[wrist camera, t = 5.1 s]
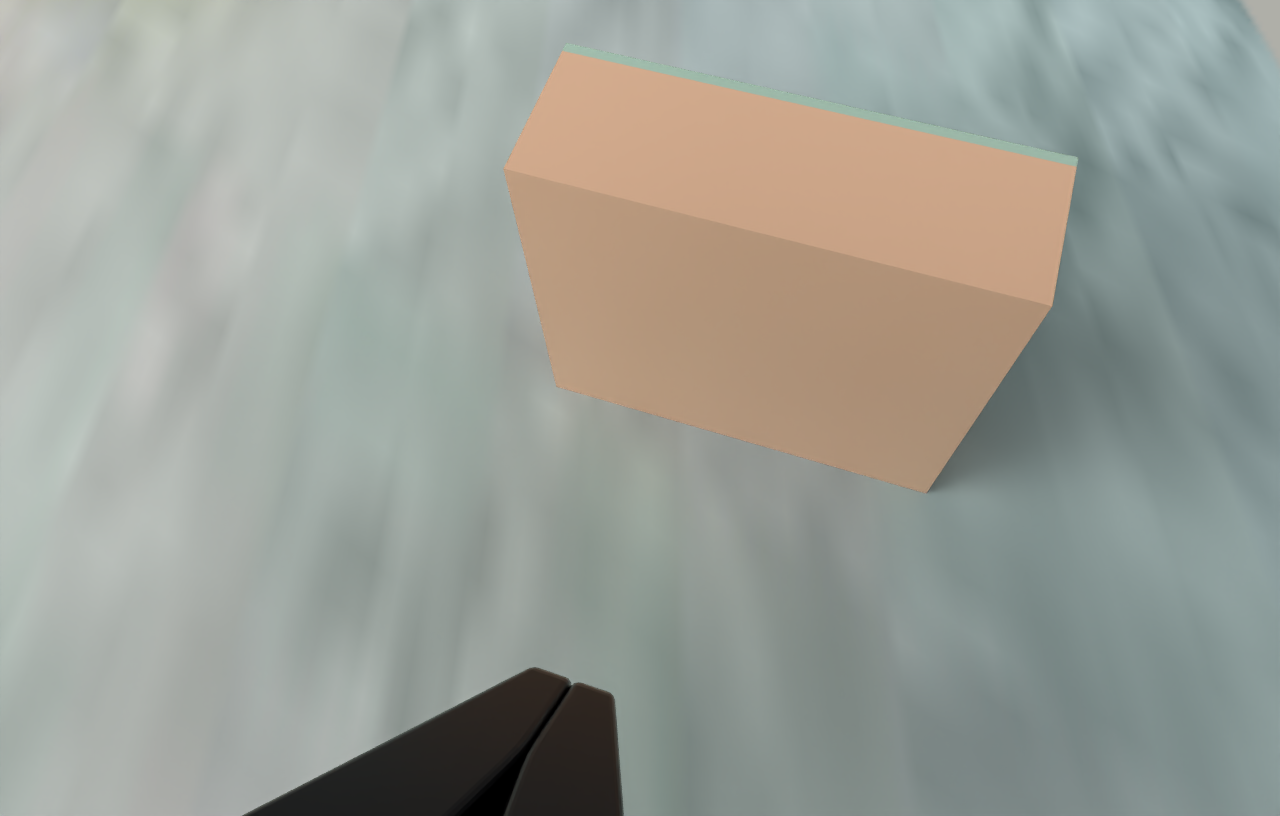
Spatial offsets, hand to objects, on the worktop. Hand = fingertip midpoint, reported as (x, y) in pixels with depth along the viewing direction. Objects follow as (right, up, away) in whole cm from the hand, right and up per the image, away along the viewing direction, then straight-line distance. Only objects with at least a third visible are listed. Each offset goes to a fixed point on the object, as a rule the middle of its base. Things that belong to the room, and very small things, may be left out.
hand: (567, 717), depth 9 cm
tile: (+3, +3, +14) cm, 15 cm away
